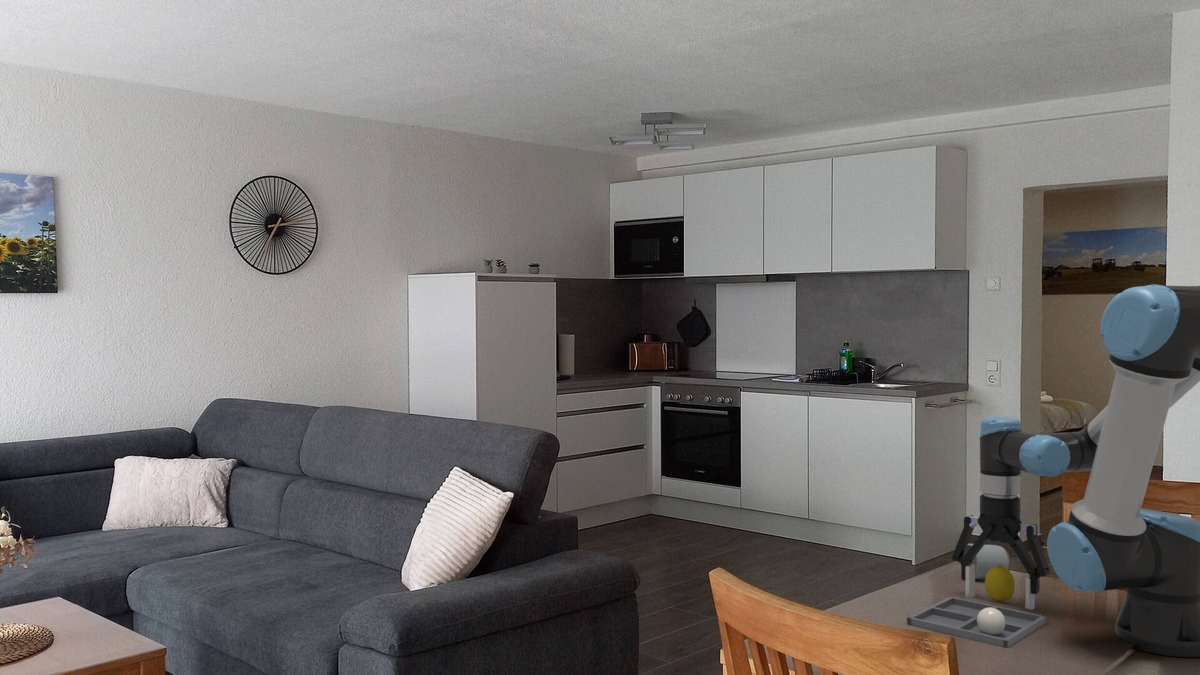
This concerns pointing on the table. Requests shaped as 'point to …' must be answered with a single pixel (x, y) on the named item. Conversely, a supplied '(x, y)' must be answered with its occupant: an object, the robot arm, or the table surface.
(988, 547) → the ceramic mug
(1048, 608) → the table surface
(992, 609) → the cream egg
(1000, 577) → the lemon
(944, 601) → the compartment tray
